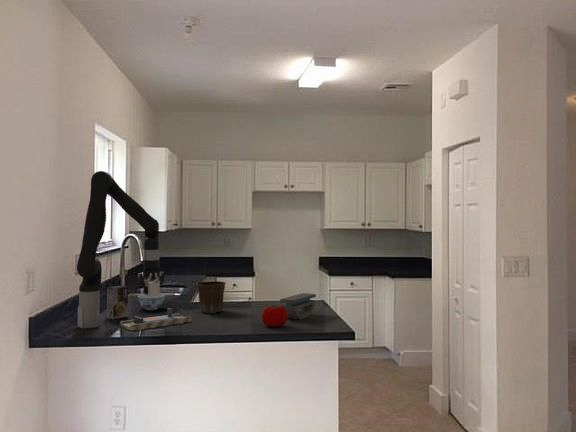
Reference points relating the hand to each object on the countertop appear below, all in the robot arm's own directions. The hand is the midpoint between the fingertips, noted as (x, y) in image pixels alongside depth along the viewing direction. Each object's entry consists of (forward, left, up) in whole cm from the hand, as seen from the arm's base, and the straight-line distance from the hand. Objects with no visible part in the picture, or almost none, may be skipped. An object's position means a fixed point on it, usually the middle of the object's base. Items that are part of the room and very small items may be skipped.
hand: (151, 293), depth 256 cm
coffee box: (-4, +30, -16) cm, 34 cm away
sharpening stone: (+68, -33, -16) cm, 77 cm away
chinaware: (+21, +41, -16) cm, 48 cm away
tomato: (+43, -43, -16) cm, 62 cm away
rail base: (+3, 0, -15) cm, 16 cm away
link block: (0, 0, -1) cm, 1 cm away
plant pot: (+42, +11, -16) cm, 46 cm away
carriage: (+3, 0, -14) cm, 14 cm away
